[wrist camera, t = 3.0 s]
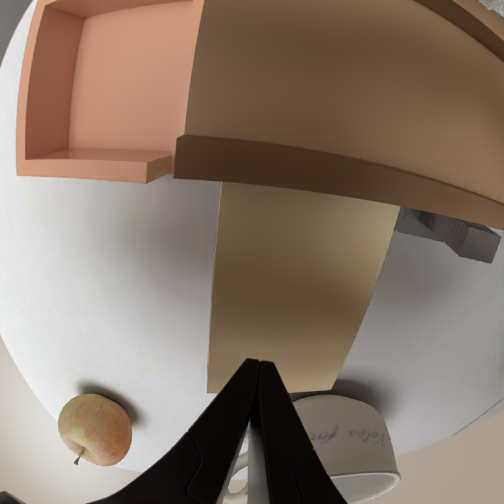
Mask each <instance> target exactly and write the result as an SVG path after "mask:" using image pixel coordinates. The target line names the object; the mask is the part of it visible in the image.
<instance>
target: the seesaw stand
mask: <svg viewBox="0 0 504 504" xmlns="http://www.w3.org/2000/svg"><path fill="white" fill-rule="evenodd" d="M490 11H491V12H492V13H493V14H494V15H495V16H496V17H497V18H499V19H500V20H501V21H502V22H503V23H504V17H503V16H501V15H500V14H499V13H497V12H496V11H494V10H490ZM394 229H395V230H396V231H397V232H402V233H406V234H411V235H415V236H420V237H424V238H428V239H433V240H437V241H441V242H444V243H445V244H447V245H448V246H449V247H450V248H451V249H452V250H453V251H454V252H455V253H456V254H458V255H459V256H460V257H465V258H469V259H474V260H478V261H482V262H486V263H490V264H491V263H492V261H493V258H494V256H495V253H496V250H497V248H498V245H499V242H500V239H501V236H499V235H498V234H496V233H495V232H493V231H492V230H490V229H489V228H488V227H486V226H485V225H481V224H478V223H474V222H470V221H466V220H461V219H457V218H453V217H449V216H444V215H440V214H435V213H431V212H426V211H421V210H416V209H412V208H407V207H402V206H400V209H399V213H398V217H397V220H396V224H395V227H394Z"/></svg>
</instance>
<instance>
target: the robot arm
mask: <svg viewBox="0 0 504 504" xmlns="http://www.w3.org/2000/svg"><path fill="white" fill-rule="evenodd" d="M249 420H250V421H249ZM248 424H249V442H248V494H247V504H348V503H347V501H346V500H345V499H344V497H343V496H342V494H341V493H340V492H339V490H338V489H337V487H336V486H335V484H334V483H333V481H332V480H331V478H330V477H329V475H328V473H327V472H326V470H325V468H324V466H323V464H322V462H321V460H320V459H319V456H318V454H317V452H316V450H315V449H314V446H313V444H312V442H311V440H310V438H309V436H308V434H307V432H306V430H305V428H304V426H303V423H302V421H301V419H300V417H299V415H298V413H297V411H296V409H295V406H294V404H293V402H292V400H291V398H290V396H289V394H288V391H287V389H286V387H285V385H284V383H283V381H282V378H281V376H280V374H279V372H278V370H277V368H276V365H275V363H274V362H272V361H266V360H261V361H259V360H258V359H253V358H246V359H245V360H244V361H243V363H242V364H241V365H240V367H239V368H238V369H237V371H236V372H235V373H234V374H233V376H232V377H231V378H230V379H229V381H228V382H227V383H226V384H225V386H224V387H223V388H222V389H221V391H220V392H219V393H218V394H217V396H216V397H215V398H214V399H213V401H212V402H211V403H210V404H209V406H208V407H207V408H206V409H205V410H204V412H203V413H202V414H201V415H200V416H199V418H198V419H197V420H196V421H195V422H194V424H193V425H192V426H191V427H190V428H189V429H188V432H186V433H185V434H184V435H183V436H182V437H181V439H180V440H179V441H178V442H177V443H176V444H175V445H174V446H173V447H172V448H171V449H170V450H169V451H168V452H167V453H166V454H165V455H164V456H163V457H162V458H161V459H159V460H158V461H157V462H156V463H155V464H154V465H152V466H151V467H150V468H149V469H147V470H146V471H145V472H144V473H142V474H141V475H140V476H138V477H137V478H136V479H135V480H134V481H132V482H131V483H129V484H128V485H127V486H125V487H124V488H122V489H121V490H119V491H118V492H116V493H114V494H112V495H110V496H108V497H106V498H103V499H100V500H97V501H93V502H90V503H87V504H222V502H223V499H224V497H225V494H226V491H227V488H228V485H229V482H230V480H231V477H232V474H233V471H234V468H235V465H236V462H237V459H238V456H239V453H240V450H241V447H242V444H243V440H244V437H245V434H246V431H247V427H248ZM0 504H25V503H24V502H22V501H21V500H19V499H18V498H16V497H14V496H13V495H11V494H10V493H8V492H6V491H2V492H0Z"/></svg>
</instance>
